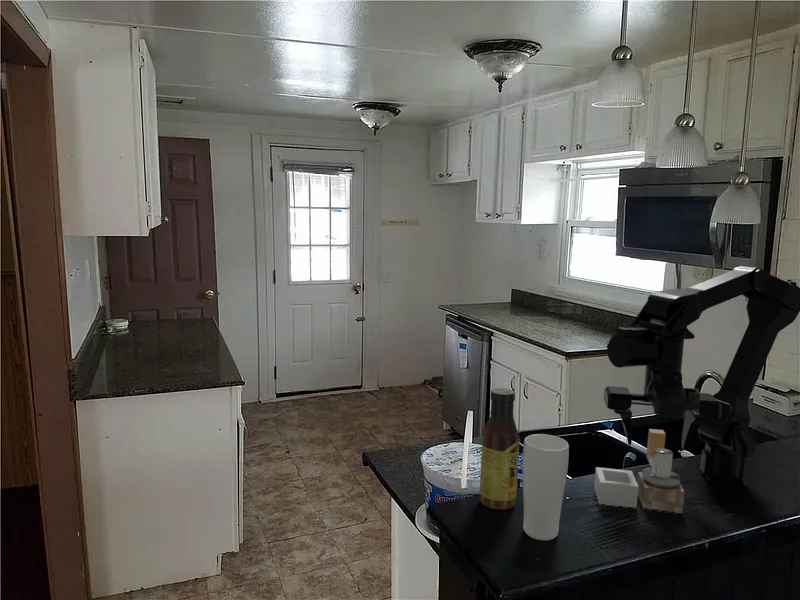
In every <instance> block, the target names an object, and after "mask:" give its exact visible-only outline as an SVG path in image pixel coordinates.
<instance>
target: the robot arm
mask: <svg viewBox="0 0 800 600" xmlns="http://www.w3.org/2000/svg"><path fill="white" fill-rule="evenodd" d="M739 296H743V297H744V298H746V299H747V300H748V301H747V303H746V312H747V313H746V314H747V316H748V317H747V318H748V325H747V326H746V330H745V331H744V333H743V336H742V338H741V340H740V343H739V345H738V347H737V350H736V352H735V354H734V356H733V359H732V361H731V363H730V366H729V368H728V370H727V372H726V374H725V377H724V380H723V381H722V383H721V386H720V388H719V390H718V391H717V392H716V393H714V394H711V393H706V392H705V393H704V392H700V390H699V388H691V387H684V384H683V373H682V364H683V356H684V345H685V340H693V339H695V337H696V336H695V334H693V332H692V331H690V330H689V328H688V326H691V324H693V323H695V322H696V321H698V320H699V319H700V318H701V315H702V313H703V312H705V311H707V310H708V309H711V308H713V307H716V306H718V305H720V304H722V303H725V302H727V301H730V300H732V299H735V298H737V297H739ZM638 312H639V313H638V314H637V315H636V317H635V318H634V320H633V321H632V323H631V324H630V327H624V326H623V327H617V328H616V334H614V335H612V336H611V337H610V338H609V341H608V343H607V346H606V352H607V353H606V354H607V357H608V359H609V362H610V363H611V364H612V365H613V366H614V367H615V368H620V369H621V368H631V367H643V366H644V368H645V376H644V377H645V378H644V385H643V394H642V393H631V392H630V390H629V389H628V387H625V386H614V385H608V386H607V387H605V388H604V390H603V401H604V404H605V407H606V409H609V410H612V411H613V413H614V414H617V415H619V417H620V419H621V422H622V426H623V429H624V430H623V431H624V433H625V437H626V441H627V443H628V445H629V446H632V441H633V433H632V432H633V429H632V419H633V418H632V417H633V411H632V410H631V408H632V405H636V406H637V405H639V406H649V407H650V406H652V408H653V413H654V414H655V415H657V416H658V417H675V418H676V419H683V418H684V420H683V428H682V434H681V435H682V436H681V449H682V450H683V451H686V450H687V448H688V447H689V444H690V442H691V441H692V439H693V437H694V436H695V433H696V432H697V435H698V439H699V441H703V442H705V446H704V448H703V449H702V450H701V456H700V465H699V469H700V470H701V472H702V473H703V475H704V476H705V478H706V480H707V481H709V482H710V483H717V484H726V485H736V486H744V487H745V486H747V485H748V484H747V481H746V480H745V479H744V476H745V475H744V474H745V466H746V458H748V457H750V455H754V454H755V452H756V449H757V447H758V445H759V444H758V442H757V440H756V439H755V438H754V437H753V436H752V434H751V433H750V432H749V430H748V429H749V427H750V422H751V415H750V410H749V409H750V408H749V404H748V403H749V400H750V398H751V395H752V393H753V391H754V389H755V386H756V384H757V381H758V380H759V377H760V375H761V372H762V370H763V368H764V365H765V364H766V362H767V360H768V358H769V357H768V356H769V355H770V352H771V350H772V348H773V346H774V343H775V341H776V339H777V337H778V334H779V333H780V332H781V331H782V330H783V329H785V328H786V327H788V326H790V325H791V324H792V323H794V322H795V321H796V319H797V317H798V316H799V314H800V287H799V286H798V285H796V284H791V283H789V282H788V281H786V280H783V279H781V278H779V277H777V276H775V275H772V274H771V273H769V272H768V271H766V270H765V269H763V268H761V267H756V266H750V265H749V266H748V265H746V266H745V265H739V266H736V267H734V268H733V269H732V270H730V271H728V272H725V273H722V274H720V275H718V276H715V277H712V278H710V279H707V280H705V281H702V282H699V283H698V284H695V285H692V286H689V287H685V288H684V287H683V288H672V289H671V288H670V289H665V290H659V291H655V292H653V293H651V294H650V295H648V297H647V301H645V304H644V305H643V307H642V308H641V310H640V311H638Z"/></svg>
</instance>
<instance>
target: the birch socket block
mask: <svg viewBox="0 0 800 600" xmlns="http://www.w3.org/2000/svg"><path fill="white" fill-rule="evenodd" d="M642 472H643V471H638V472H637V479H636V480H637V481H636V482H637V485H638V496H637V498H638V497H639V498H638V500H639V499H640V500H639V502H641V503H640V505H641V504H642V505H641V507H642V506H643V508H648V509H659V510H665V511H669V512H676V513H675V514H677V513H682V514H683V511H684V500H685V489H683V486H682V485H681V484H680V486H679V487H678V488H677V489H672V490H667V489H660V488H656V487H653V486H650V485H648V484H646V483H645V482H644V481H643V480H642ZM643 508H642V509H643ZM669 512H668V513H669Z"/></svg>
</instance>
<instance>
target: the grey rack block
mask: <svg viewBox="0 0 800 600" xmlns="http://www.w3.org/2000/svg"><path fill="white" fill-rule="evenodd" d="M594 475H595V476H594V485H593V486H594V487H593V489H594V488H595V489H594V492H596V493H595V497H596V496H597V497H596V500H597V499H598V501H597V504H598V503H599V504H598V505H602V504H605V505H604V506H611V505H612V507H619V506H623V507H622V508H627V507H634V508H633V509H636V508H637V506H638V485H637V481H636V480H637V479H636V477H635V476H634V473H633V470H628V469H627V470H625V469H616V468H607V467H598V466H597V467H595V473H594ZM624 506H625V507H624ZM635 507H636V508H635Z"/></svg>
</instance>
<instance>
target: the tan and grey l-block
mask: <svg viewBox="0 0 800 600" xmlns="http://www.w3.org/2000/svg"><path fill="white" fill-rule="evenodd" d="M665 442H666V432H665V431H664V429H656V428H655V429H654V428H648V435H647V446H646V460H647V461H648V463H649V465H650V467H652V466H653V456H654V449H656V448H664V449H665Z"/></svg>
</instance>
